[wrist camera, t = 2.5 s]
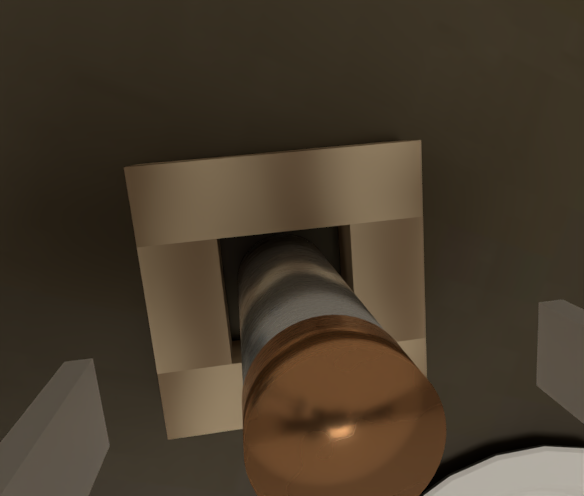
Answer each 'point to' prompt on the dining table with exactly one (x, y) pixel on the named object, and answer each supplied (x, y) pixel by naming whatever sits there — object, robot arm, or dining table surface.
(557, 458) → the plate
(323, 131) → the dining table surface
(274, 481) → the clear jar
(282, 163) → the socket block
